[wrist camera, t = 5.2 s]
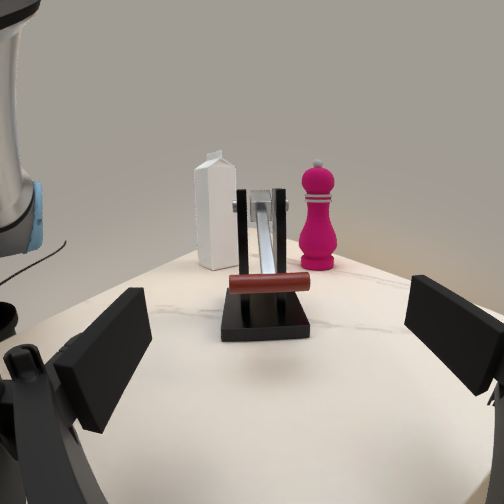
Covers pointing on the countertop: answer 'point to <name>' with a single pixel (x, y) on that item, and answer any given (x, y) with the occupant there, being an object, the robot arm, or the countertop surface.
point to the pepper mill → (317, 220)
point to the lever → (266, 257)
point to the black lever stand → (263, 304)
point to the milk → (216, 213)
